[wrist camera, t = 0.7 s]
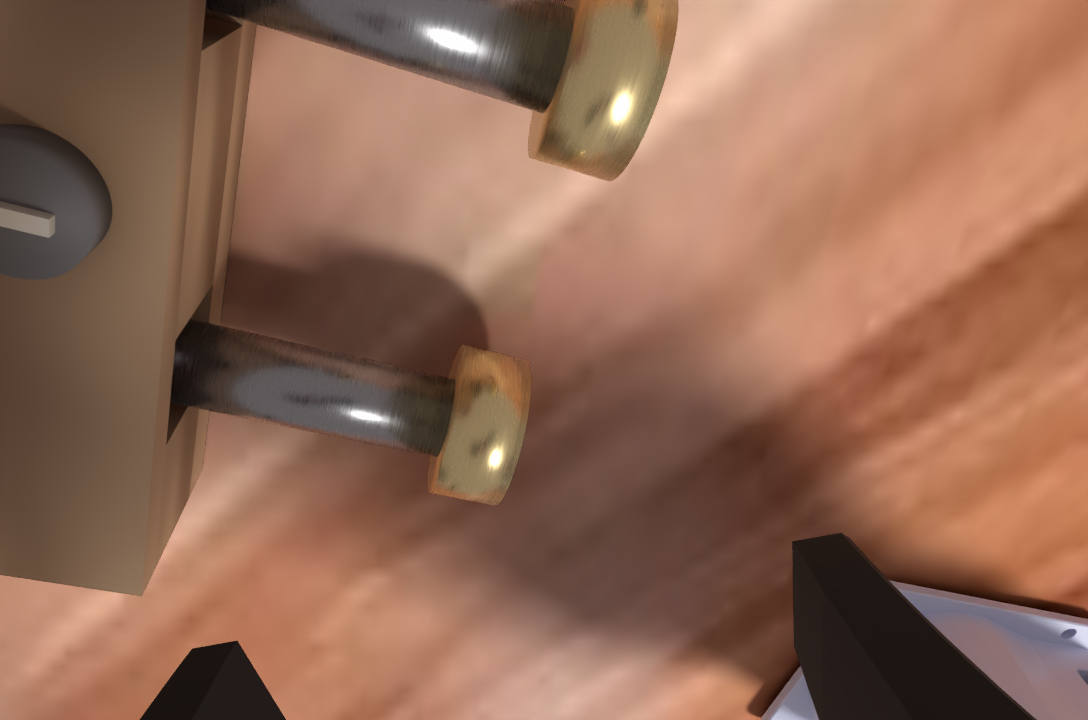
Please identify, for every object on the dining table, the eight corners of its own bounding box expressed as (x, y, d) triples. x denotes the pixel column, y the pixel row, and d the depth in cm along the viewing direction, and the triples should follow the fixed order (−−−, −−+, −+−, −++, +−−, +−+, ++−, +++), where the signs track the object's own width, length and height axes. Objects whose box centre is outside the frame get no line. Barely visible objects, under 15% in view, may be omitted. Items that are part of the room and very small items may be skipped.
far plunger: (527, 333, 18) (535, 417, 15) (488, 442, 20) (489, 537, 17) (173, 245, 17) (108, 322, 14) (163, 373, 18) (103, 466, 15)
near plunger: (653, -23, 14) (696, 2, 12) (592, 149, 16) (616, 208, 13) (209, -186, 13) (128, -204, 10) (191, 26, 14) (118, 63, 12)
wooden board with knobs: (309, -408, 12) (203, -581, 7) (202, 469, 21) (123, 633, 16) (24, -532, 11) (-293, -815, 6) (38, 438, 20) (-92, 604, 15)
